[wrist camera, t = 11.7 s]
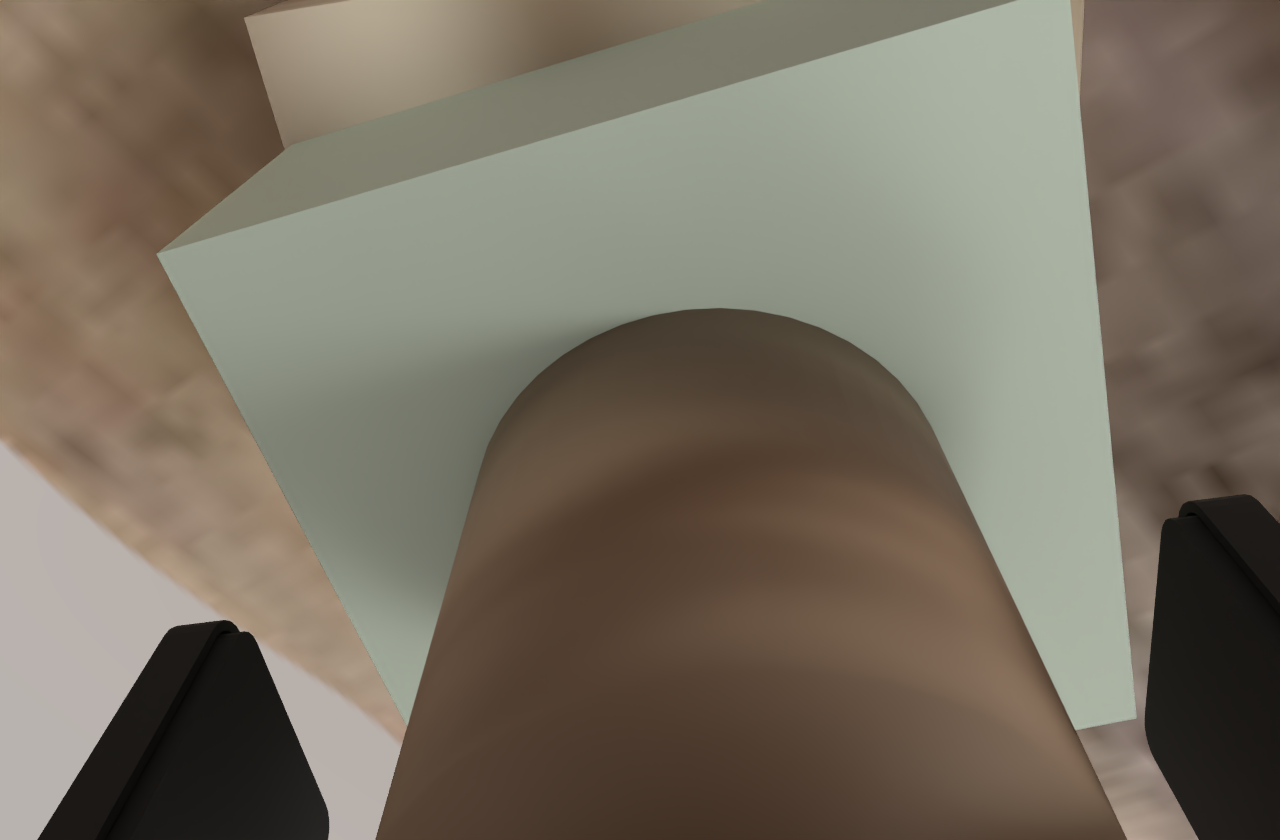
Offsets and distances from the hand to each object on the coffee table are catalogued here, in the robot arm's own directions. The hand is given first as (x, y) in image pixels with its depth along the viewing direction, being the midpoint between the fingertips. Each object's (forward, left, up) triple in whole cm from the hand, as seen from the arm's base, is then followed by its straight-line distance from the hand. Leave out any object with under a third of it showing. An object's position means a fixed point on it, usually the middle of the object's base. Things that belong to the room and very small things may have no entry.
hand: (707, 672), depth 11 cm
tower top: (0, 0, -8) cm, 8 cm away
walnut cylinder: (0, 0, -3) cm, 3 cm away
